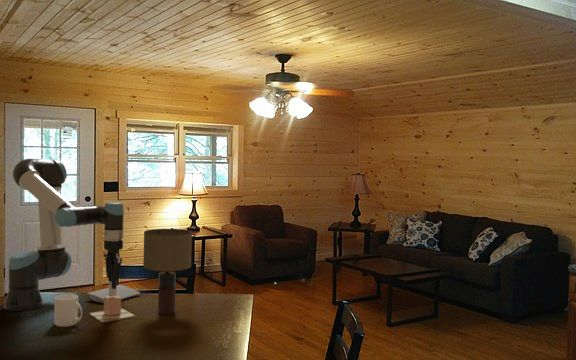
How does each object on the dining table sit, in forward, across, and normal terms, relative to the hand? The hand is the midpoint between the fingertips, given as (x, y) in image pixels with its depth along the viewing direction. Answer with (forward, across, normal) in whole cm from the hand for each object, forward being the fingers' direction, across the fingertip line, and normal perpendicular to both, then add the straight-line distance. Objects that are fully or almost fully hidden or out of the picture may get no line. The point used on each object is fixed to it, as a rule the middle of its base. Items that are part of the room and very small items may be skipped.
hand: (112, 295), depth 225 cm
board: (+8, 0, 0) cm, 8 cm away
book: (+9, -28, +12) cm, 32 cm away
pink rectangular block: (+7, 0, 0) cm, 7 cm away
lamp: (+9, +8, +21) cm, 24 cm away
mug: (+9, +2, -18) cm, 20 cm away
